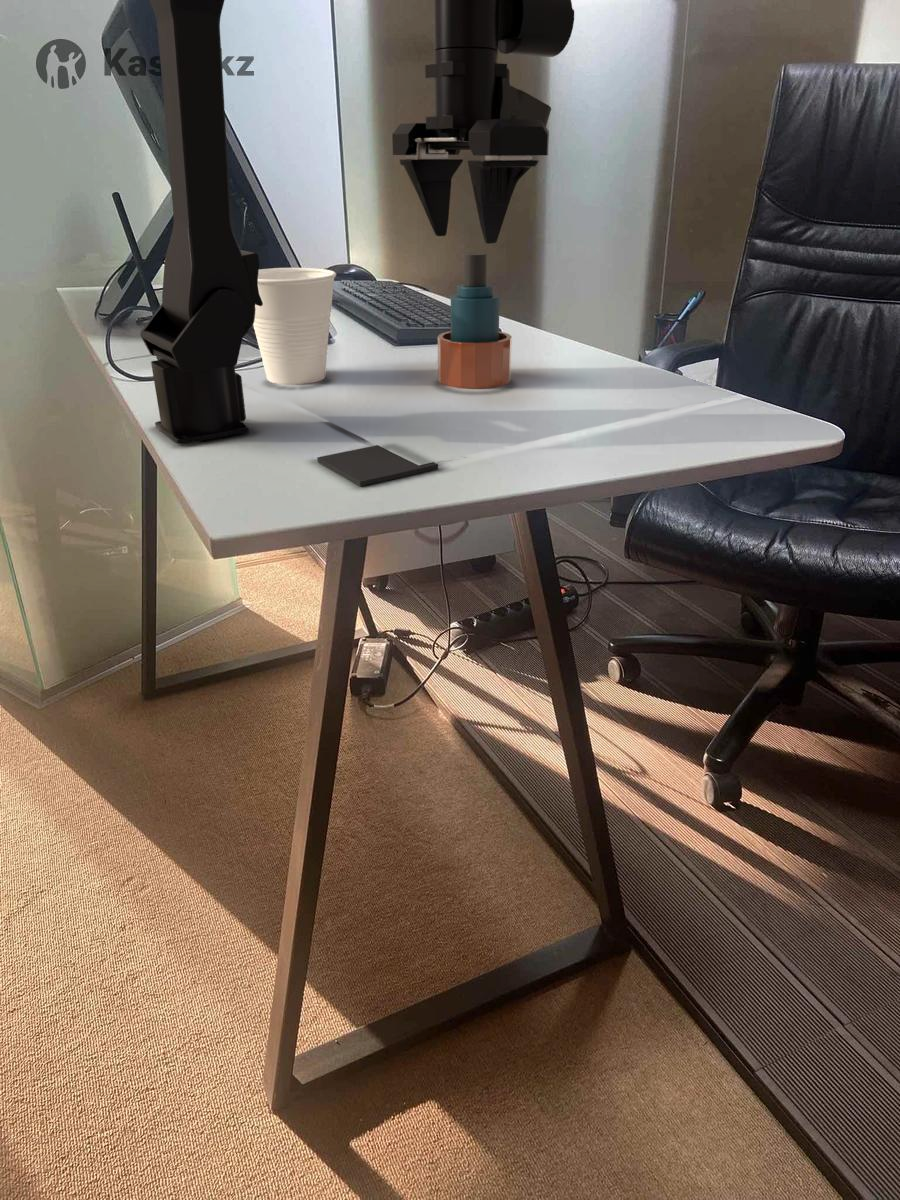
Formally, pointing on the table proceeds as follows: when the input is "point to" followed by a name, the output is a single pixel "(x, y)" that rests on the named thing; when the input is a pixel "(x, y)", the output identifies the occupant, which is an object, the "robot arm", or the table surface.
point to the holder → (474, 362)
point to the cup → (294, 323)
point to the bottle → (475, 305)
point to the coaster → (372, 465)
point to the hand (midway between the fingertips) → (464, 239)
